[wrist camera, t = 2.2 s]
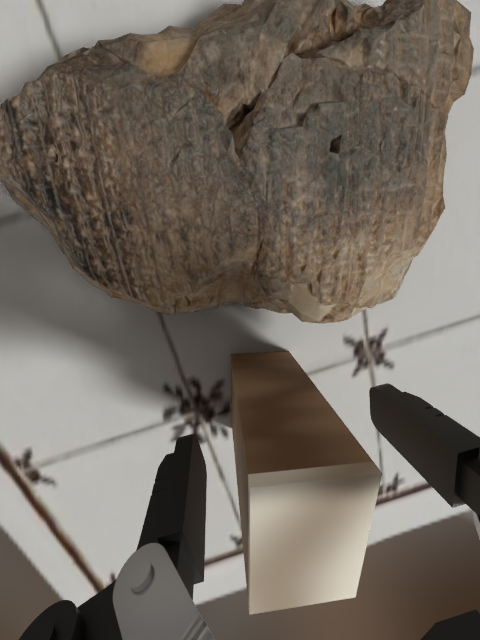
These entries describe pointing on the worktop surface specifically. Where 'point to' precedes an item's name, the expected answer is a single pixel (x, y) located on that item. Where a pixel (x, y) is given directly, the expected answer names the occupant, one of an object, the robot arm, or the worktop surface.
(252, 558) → the walnut block
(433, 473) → the robot arm
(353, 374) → the worktop surface
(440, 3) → the clay tablet
